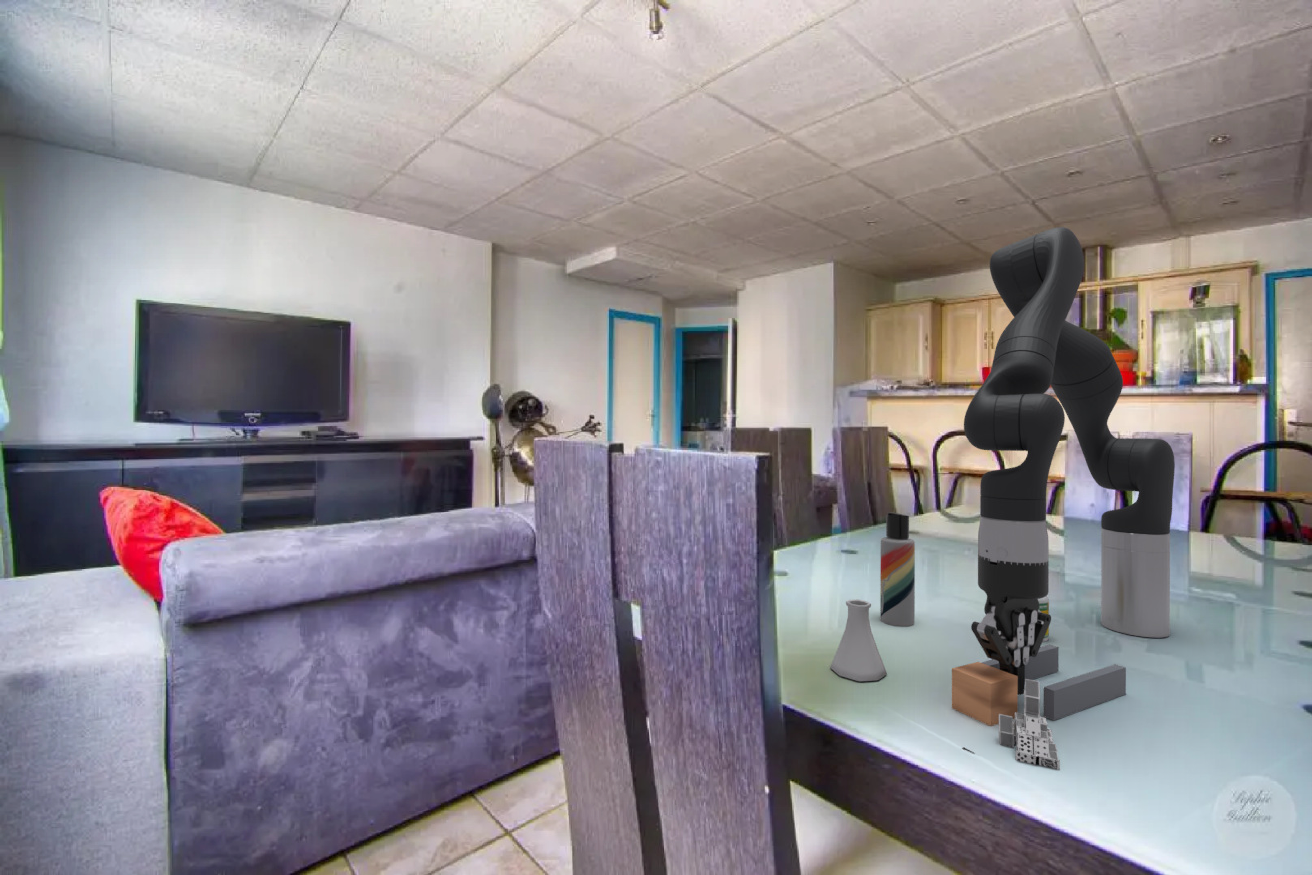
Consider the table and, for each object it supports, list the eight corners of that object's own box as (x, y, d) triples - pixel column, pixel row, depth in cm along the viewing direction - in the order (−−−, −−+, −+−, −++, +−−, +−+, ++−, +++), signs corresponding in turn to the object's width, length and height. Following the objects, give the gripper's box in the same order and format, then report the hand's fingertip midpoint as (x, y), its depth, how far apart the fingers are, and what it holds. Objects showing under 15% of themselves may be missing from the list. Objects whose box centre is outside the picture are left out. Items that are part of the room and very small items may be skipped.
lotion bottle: (874, 618, 107) (875, 510, 107) (904, 618, 107) (904, 510, 107) (889, 628, 101) (890, 514, 101) (920, 628, 102) (921, 514, 102)
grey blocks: (1049, 668, 84) (1049, 644, 84) (1125, 694, 75) (1125, 667, 75) (978, 689, 77) (978, 663, 77) (1054, 720, 68) (1054, 690, 68)
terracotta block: (978, 700, 74) (978, 661, 74) (1017, 718, 69) (1017, 676, 69) (951, 708, 71) (951, 668, 71) (990, 727, 67) (990, 683, 67)
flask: (859, 687, 77) (859, 612, 77) (820, 668, 84) (820, 599, 84) (896, 677, 81) (897, 605, 81) (856, 659, 87) (857, 593, 87)
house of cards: (964, 716, 70) (964, 652, 70) (1051, 734, 66) (1051, 666, 66) (961, 751, 62) (961, 679, 62) (1060, 774, 58) (1060, 697, 58)
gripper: (1014, 545, 79) (1014, 672, 79) (950, 553, 73) (949, 691, 73) (1075, 555, 72) (1075, 694, 72) (1009, 565, 66) (1009, 717, 66)
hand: (1011, 692), depth 72 cm, fingers closed
